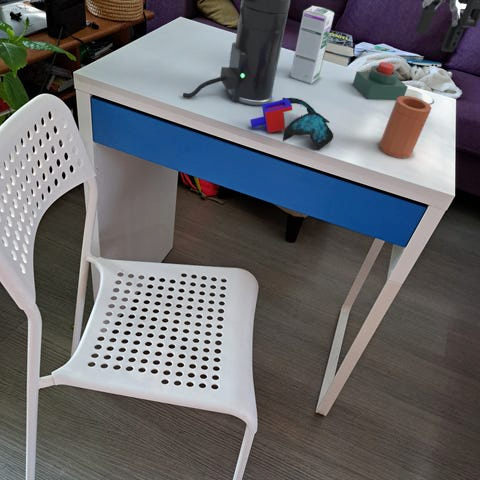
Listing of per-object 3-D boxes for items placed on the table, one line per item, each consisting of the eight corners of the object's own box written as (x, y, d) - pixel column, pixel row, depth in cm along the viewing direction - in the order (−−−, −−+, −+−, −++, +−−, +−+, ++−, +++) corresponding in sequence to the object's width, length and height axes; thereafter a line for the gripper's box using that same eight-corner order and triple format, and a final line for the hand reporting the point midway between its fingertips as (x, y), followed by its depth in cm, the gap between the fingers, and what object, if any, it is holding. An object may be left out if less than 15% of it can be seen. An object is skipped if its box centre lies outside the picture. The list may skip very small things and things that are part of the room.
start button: (381, 75, 117) (383, 67, 116) (374, 69, 119) (376, 61, 118) (394, 76, 118) (397, 68, 117) (387, 70, 120) (389, 62, 119)
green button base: (367, 98, 118) (374, 77, 114) (352, 84, 123) (359, 63, 119) (402, 100, 121) (410, 78, 118) (387, 86, 126) (394, 65, 123)
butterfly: (339, 145, 92) (295, 116, 88) (322, 166, 95) (279, 139, 92) (331, 107, 104) (293, 80, 100) (316, 127, 107) (278, 101, 104)
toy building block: (290, 119, 99) (251, 128, 99) (288, 98, 96) (247, 107, 96) (294, 127, 97) (253, 136, 97) (292, 105, 94) (250, 115, 94)
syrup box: (311, 84, 119) (328, 16, 108) (288, 77, 120) (303, 8, 109) (318, 77, 123) (336, 11, 112) (296, 70, 124) (311, 4, 113)
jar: (389, 158, 98) (408, 110, 91) (373, 141, 102) (390, 95, 95) (417, 158, 100) (437, 111, 93) (400, 142, 104) (419, 96, 97)
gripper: (434, -89, 78) (395, 26, 89) (488, -70, 69) (436, 56, 80) (473, -82, 80) (430, 30, 92) (530, -62, 71) (474, 59, 82)
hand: (433, 42), depth 86 cm, fingers open, 8 cm apart
